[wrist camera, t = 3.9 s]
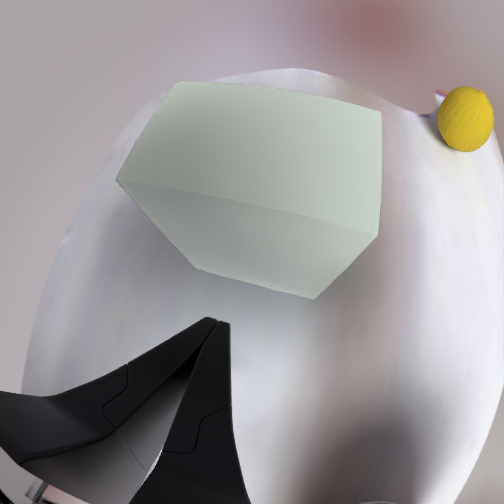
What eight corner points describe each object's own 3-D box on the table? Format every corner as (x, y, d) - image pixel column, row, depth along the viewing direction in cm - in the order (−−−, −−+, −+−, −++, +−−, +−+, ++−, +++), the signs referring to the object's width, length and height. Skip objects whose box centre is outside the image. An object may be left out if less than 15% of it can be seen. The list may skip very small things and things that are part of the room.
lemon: (426, 117, 22) (453, 63, 14) (466, 139, 21) (499, 93, 13) (425, 150, 20) (462, 92, 13) (470, 175, 19) (512, 127, 12)
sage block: (314, 299, 17) (377, 235, 7) (196, 269, 18) (115, 179, 8) (329, 229, 19) (380, 112, 8) (219, 204, 20) (177, 81, 9)
